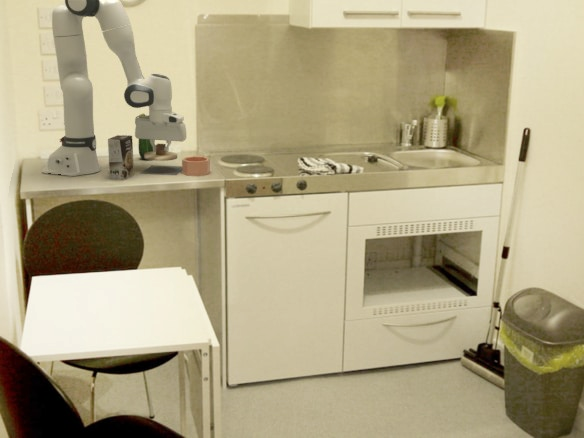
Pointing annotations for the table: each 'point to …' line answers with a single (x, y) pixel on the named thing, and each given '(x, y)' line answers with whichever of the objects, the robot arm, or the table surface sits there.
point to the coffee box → (121, 157)
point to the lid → (160, 154)
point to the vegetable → (144, 146)
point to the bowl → (196, 166)
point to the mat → (162, 170)
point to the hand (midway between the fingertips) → (160, 151)
